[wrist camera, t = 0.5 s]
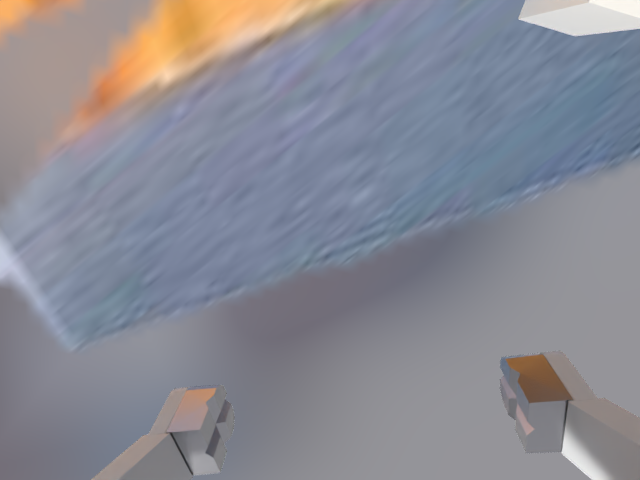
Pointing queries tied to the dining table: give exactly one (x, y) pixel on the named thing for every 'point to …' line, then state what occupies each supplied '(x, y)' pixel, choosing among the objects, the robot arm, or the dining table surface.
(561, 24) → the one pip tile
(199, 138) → the dining table surface
